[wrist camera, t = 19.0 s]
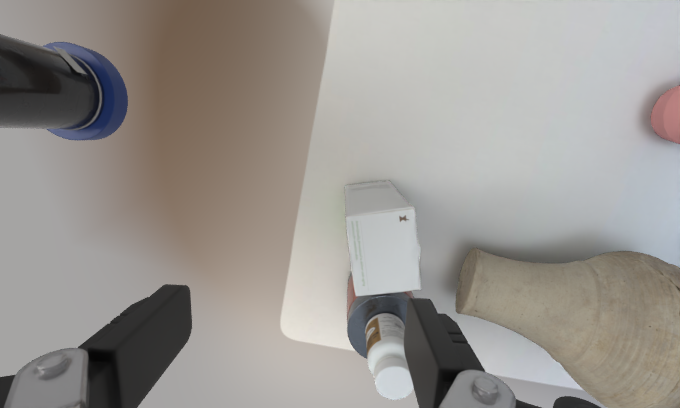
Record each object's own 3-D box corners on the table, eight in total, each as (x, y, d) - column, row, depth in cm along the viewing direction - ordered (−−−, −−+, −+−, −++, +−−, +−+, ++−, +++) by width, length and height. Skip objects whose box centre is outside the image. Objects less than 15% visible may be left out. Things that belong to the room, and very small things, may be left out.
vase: (403, 394, 34) (713, 521, 28) (469, 215, 26) (925, 338, 20) (418, 285, 54) (602, 346, 47) (458, 164, 45) (685, 218, 39)
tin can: (346, 309, 46) (345, 361, 36) (348, 255, 44) (348, 293, 34) (403, 312, 46) (420, 365, 35) (408, 258, 44) (427, 297, 34)
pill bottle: (364, 311, 34) (369, 361, 27) (405, 311, 34) (421, 361, 26) (365, 347, 35) (369, 405, 28) (404, 347, 35) (419, 405, 27)
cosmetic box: (344, 184, 42) (341, 211, 27) (393, 178, 42) (418, 203, 27) (351, 242, 44) (352, 299, 29) (398, 237, 44) (424, 292, 28)
